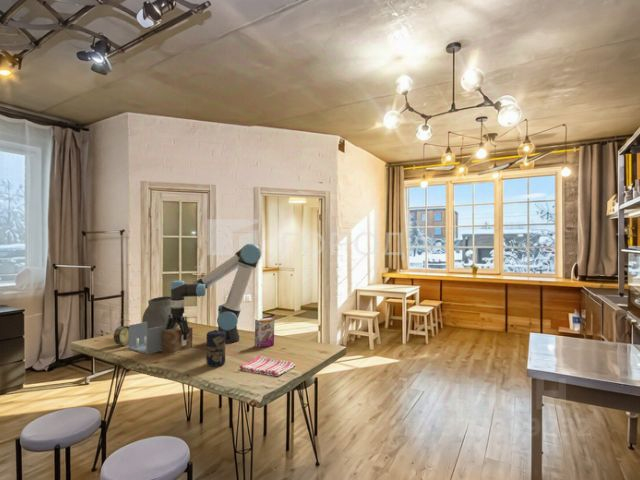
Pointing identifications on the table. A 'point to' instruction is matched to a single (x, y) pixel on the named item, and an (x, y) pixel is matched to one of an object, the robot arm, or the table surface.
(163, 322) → the ceramic pot
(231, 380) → the table surface
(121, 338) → the alarm clock
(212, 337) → the canister
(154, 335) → the cradle
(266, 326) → the candy bar box
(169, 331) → the brown box
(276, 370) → the dish towel
